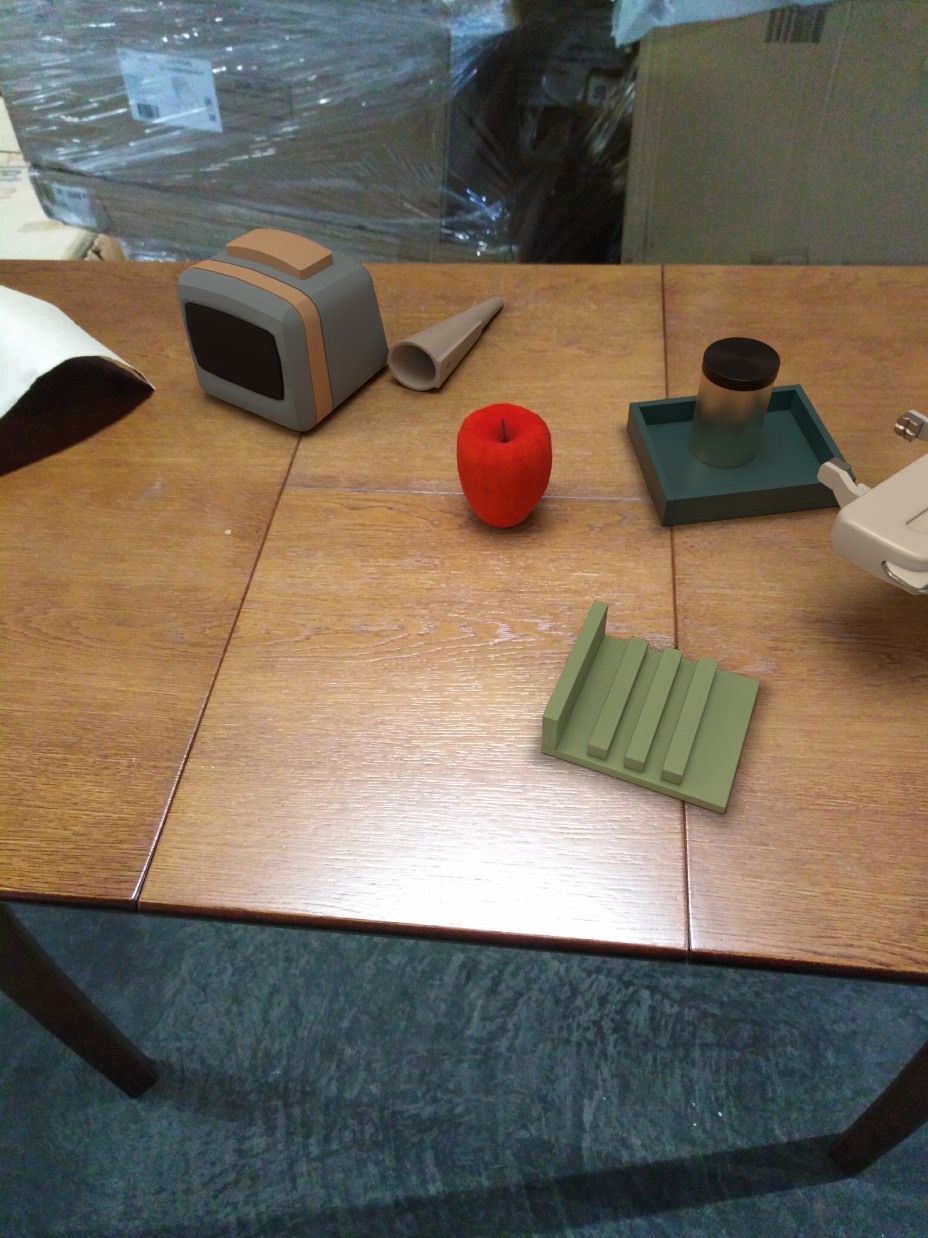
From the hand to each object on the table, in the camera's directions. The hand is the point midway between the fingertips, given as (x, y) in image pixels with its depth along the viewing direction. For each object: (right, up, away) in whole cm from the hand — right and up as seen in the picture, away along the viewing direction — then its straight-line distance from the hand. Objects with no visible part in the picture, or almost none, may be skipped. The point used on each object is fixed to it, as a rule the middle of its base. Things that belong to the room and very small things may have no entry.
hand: (863, 442), depth 73 cm
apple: (-28, -4, +13) cm, 32 cm away
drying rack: (-18, -22, -2) cm, 29 cm away
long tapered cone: (-34, +18, +32) cm, 50 cm away
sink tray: (-6, +1, +16) cm, 17 cm away
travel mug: (-7, +3, +17) cm, 18 cm away
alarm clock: (-51, +12, +29) cm, 60 cm away
